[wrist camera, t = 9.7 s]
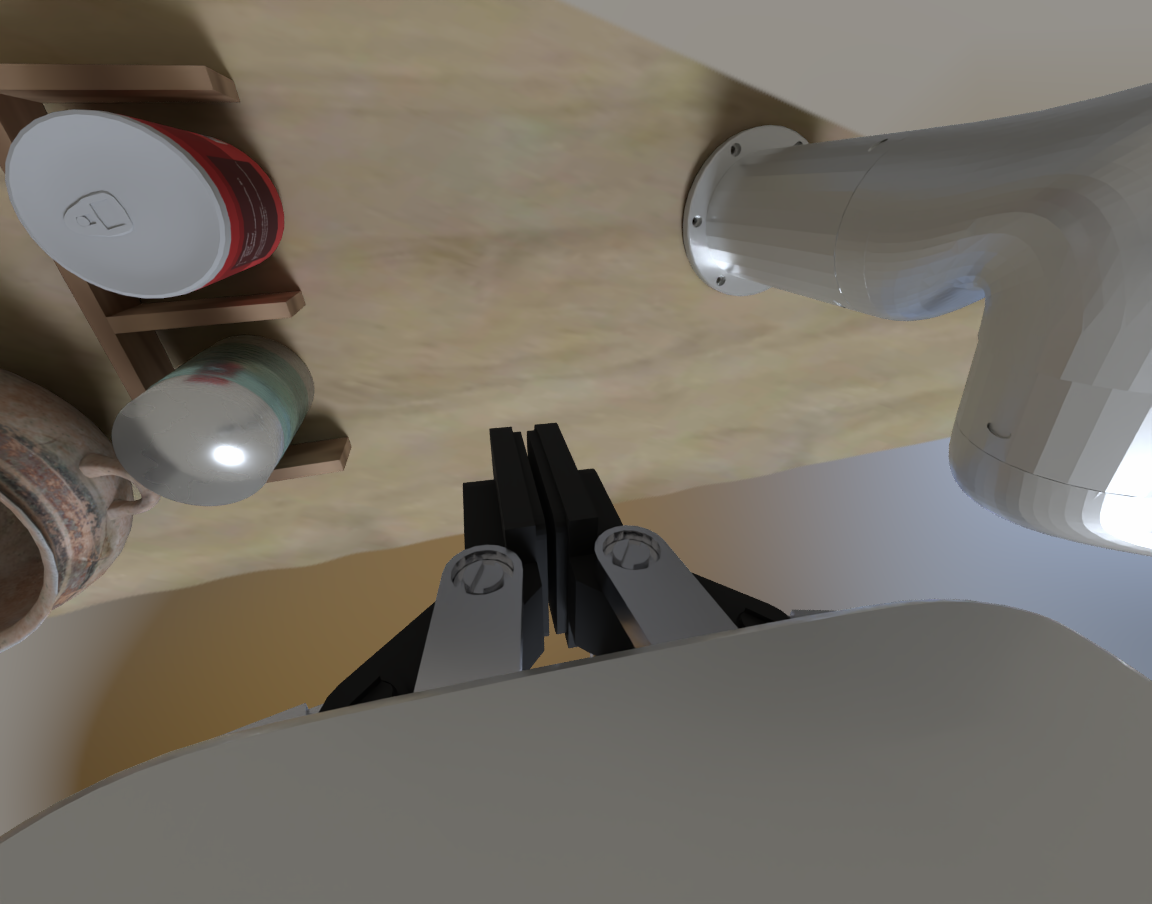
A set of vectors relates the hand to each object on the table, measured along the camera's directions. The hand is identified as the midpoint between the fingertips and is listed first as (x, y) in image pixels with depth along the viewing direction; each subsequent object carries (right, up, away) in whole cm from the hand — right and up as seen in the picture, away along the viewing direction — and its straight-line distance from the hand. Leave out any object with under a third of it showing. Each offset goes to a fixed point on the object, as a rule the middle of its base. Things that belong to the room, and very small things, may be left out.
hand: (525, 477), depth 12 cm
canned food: (-22, +17, +18) cm, 33 cm away
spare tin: (-23, +6, +24) cm, 34 cm away
